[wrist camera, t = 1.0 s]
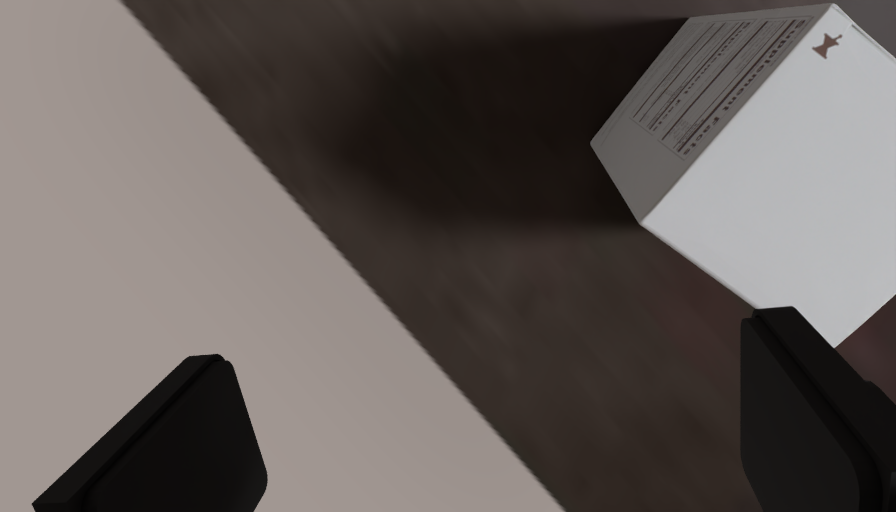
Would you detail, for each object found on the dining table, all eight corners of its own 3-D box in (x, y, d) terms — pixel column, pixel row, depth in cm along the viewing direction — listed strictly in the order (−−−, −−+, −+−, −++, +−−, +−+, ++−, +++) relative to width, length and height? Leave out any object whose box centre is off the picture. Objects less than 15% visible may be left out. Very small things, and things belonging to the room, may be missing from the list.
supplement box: (584, 143, 37) (625, 221, 22) (689, 11, 34) (827, -11, 18) (703, 231, 38) (826, 367, 22) (816, 111, 35) (1051, 172, 19)
